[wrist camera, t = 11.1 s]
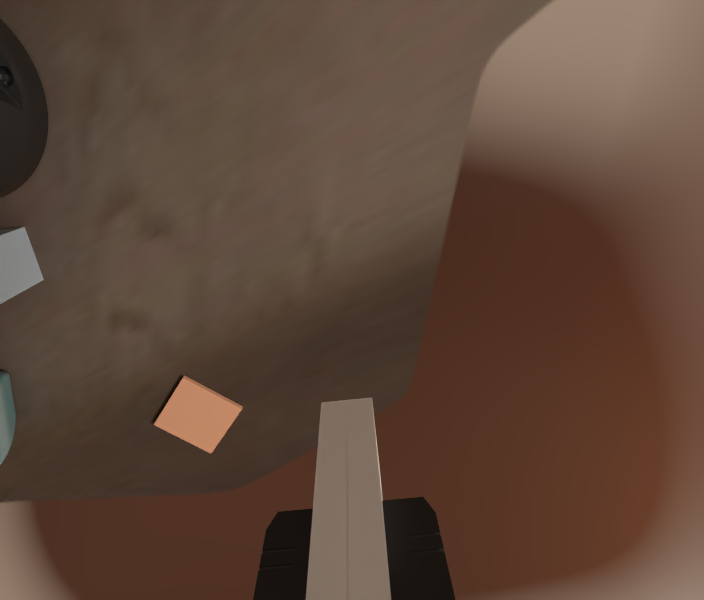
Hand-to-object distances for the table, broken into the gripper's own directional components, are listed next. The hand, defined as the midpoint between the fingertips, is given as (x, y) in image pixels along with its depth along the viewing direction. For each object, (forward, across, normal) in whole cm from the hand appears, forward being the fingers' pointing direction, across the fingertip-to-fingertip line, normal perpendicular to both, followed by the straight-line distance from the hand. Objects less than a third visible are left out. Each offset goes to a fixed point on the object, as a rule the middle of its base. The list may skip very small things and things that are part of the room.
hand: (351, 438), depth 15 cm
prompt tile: (+26, -16, -16) cm, 34 cm away
